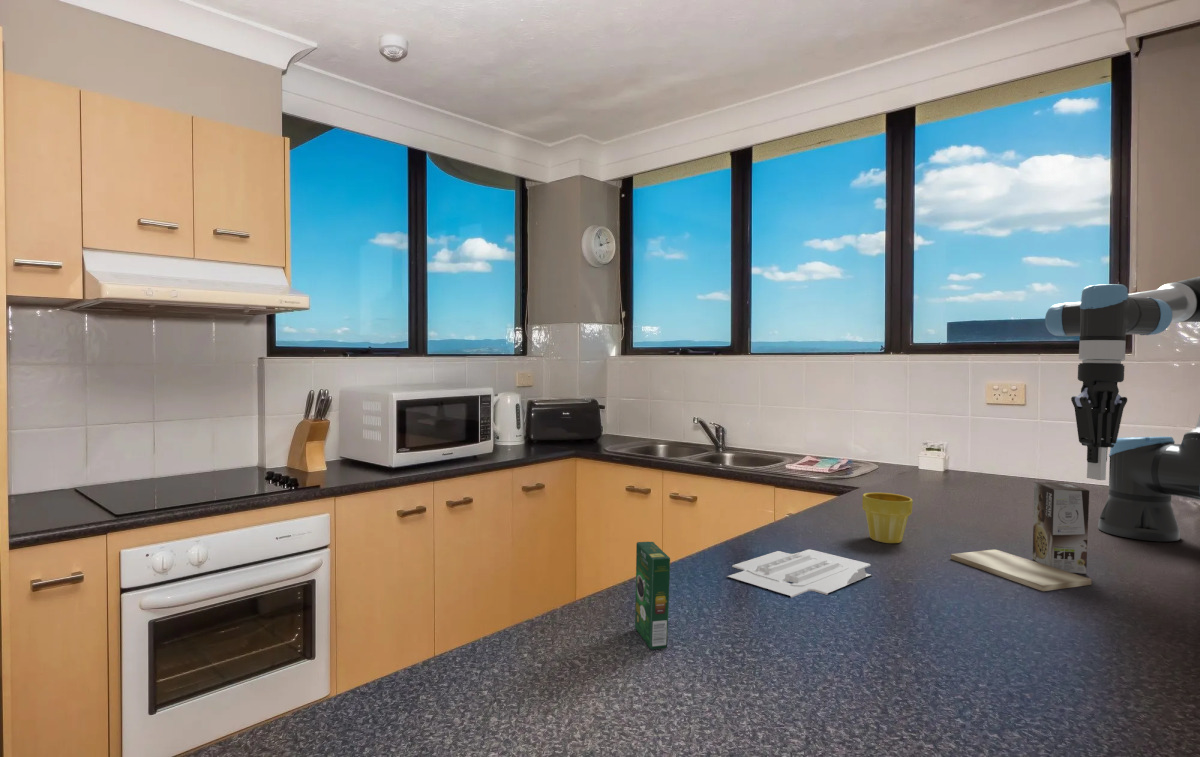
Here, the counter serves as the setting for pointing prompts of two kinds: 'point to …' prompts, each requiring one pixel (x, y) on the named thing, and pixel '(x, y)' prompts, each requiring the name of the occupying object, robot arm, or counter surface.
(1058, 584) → the birch board
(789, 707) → the counter surface
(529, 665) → the counter surface
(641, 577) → the coffee box
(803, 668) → the counter surface
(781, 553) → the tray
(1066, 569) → the coffee box
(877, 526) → the plant pot
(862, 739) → the counter surface
